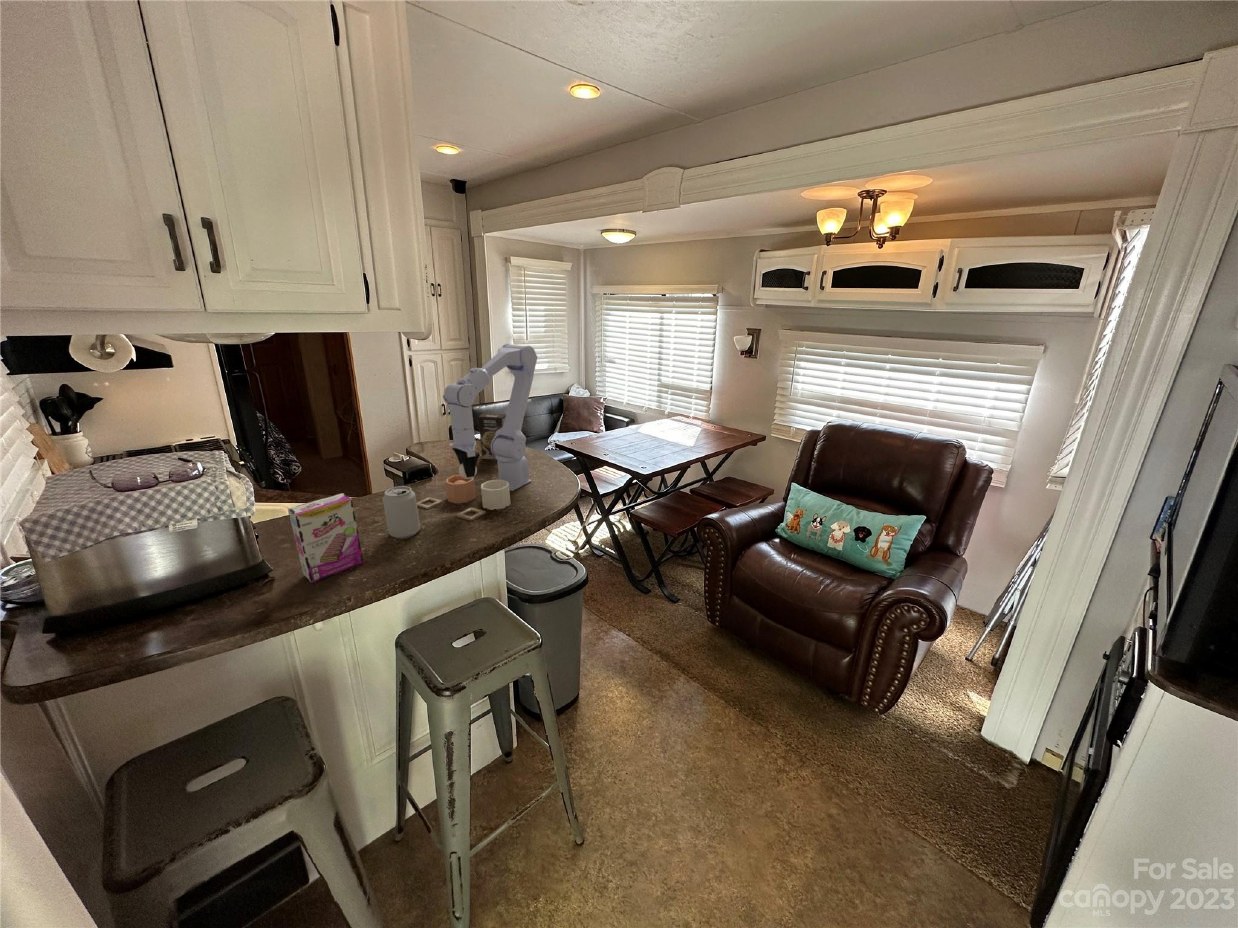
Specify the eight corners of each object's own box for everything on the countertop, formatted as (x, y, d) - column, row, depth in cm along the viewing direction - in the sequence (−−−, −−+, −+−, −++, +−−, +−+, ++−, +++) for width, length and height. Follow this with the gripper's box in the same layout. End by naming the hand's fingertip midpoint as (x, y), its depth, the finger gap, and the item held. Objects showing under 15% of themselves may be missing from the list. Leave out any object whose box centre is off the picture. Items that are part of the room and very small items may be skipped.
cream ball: (469, 474, 140) (467, 458, 138) (481, 477, 138) (479, 461, 136) (455, 479, 136) (453, 463, 134) (468, 483, 134) (466, 466, 132)
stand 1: (430, 498, 143) (429, 496, 143) (442, 502, 140) (442, 500, 140) (414, 505, 138) (414, 503, 138) (427, 509, 136) (427, 507, 136)
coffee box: (481, 459, 176) (477, 416, 171) (488, 453, 182) (484, 412, 177) (504, 460, 175) (501, 417, 169) (511, 454, 181) (508, 413, 175)
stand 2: (471, 509, 136) (471, 507, 136) (485, 513, 134) (485, 511, 134) (456, 516, 132) (456, 514, 132) (471, 520, 129) (470, 518, 129)
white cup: (496, 496, 145) (494, 477, 143) (515, 501, 141) (514, 483, 139) (477, 505, 138) (475, 486, 136) (497, 511, 135) (495, 492, 133)
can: (409, 541, 119) (402, 497, 115) (382, 538, 120) (374, 494, 116) (426, 527, 126) (420, 485, 122) (401, 524, 127) (394, 483, 123)
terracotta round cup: (462, 490, 149) (460, 472, 146) (481, 495, 145) (479, 477, 143) (442, 499, 142) (440, 481, 140) (461, 505, 139) (459, 486, 137)
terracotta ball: (462, 492, 147) (459, 476, 145) (473, 494, 144) (471, 479, 143) (449, 498, 143) (446, 482, 141) (461, 500, 140) (458, 484, 138)
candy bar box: (312, 584, 101) (294, 515, 96) (303, 576, 104) (285, 508, 99) (365, 562, 110) (352, 497, 104) (356, 555, 113) (342, 491, 107)
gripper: (442, 423, 136) (448, 467, 140) (453, 436, 124) (459, 484, 129) (467, 420, 139) (472, 463, 144) (480, 432, 127) (485, 479, 132)
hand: (468, 473), depth 136 cm, fingers closed on cream ball, 5 cm apart
